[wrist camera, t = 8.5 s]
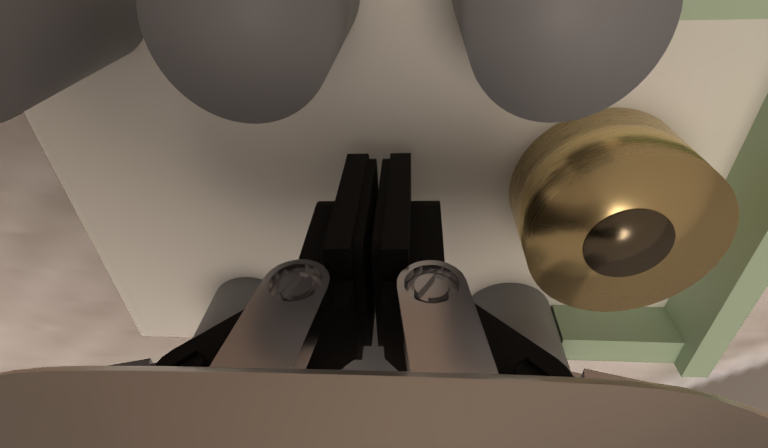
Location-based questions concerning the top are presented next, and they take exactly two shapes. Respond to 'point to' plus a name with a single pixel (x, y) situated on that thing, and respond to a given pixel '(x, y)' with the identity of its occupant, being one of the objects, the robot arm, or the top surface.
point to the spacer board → (380, 140)
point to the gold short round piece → (619, 211)
